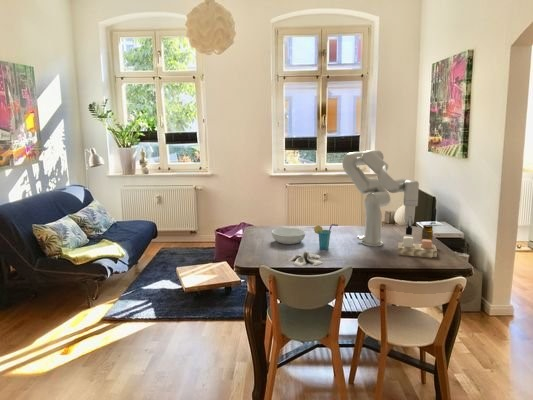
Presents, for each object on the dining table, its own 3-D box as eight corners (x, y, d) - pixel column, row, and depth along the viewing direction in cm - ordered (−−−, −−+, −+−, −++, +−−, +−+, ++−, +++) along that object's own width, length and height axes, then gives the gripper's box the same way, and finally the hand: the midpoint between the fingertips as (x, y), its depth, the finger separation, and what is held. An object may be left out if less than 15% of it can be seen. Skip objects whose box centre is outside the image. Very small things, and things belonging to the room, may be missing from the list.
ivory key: (403, 249, 238) (403, 238, 237) (403, 246, 243) (403, 236, 242) (412, 249, 237) (413, 238, 236) (412, 247, 242) (412, 236, 241)
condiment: (435, 245, 255) (436, 226, 253) (426, 247, 250) (427, 227, 248) (424, 242, 261) (426, 223, 259) (415, 244, 256) (417, 225, 254)
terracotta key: (421, 252, 236) (422, 241, 235) (421, 249, 241) (421, 239, 239) (431, 252, 234) (432, 242, 233) (430, 250, 239) (431, 239, 238)
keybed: (398, 254, 236) (398, 247, 236) (398, 248, 248) (398, 242, 247) (436, 257, 231) (437, 250, 230) (434, 251, 242) (435, 244, 241)
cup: (335, 246, 252) (335, 222, 250) (338, 250, 245) (339, 225, 242) (312, 247, 251) (312, 222, 248) (315, 251, 243) (316, 225, 240)
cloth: (318, 255, 238) (318, 244, 237) (328, 265, 220) (329, 254, 219) (279, 257, 234) (279, 246, 232) (287, 268, 216) (287, 257, 215)
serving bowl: (293, 249, 247) (293, 237, 246) (264, 243, 260) (264, 232, 259) (311, 241, 264) (311, 230, 262) (284, 236, 276) (284, 226, 275)
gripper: (403, 200, 244) (401, 230, 247) (403, 204, 229) (402, 237, 233) (416, 200, 241) (415, 231, 245) (418, 205, 227) (416, 238, 230)
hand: (408, 234), depth 239 cm, fingers closed
